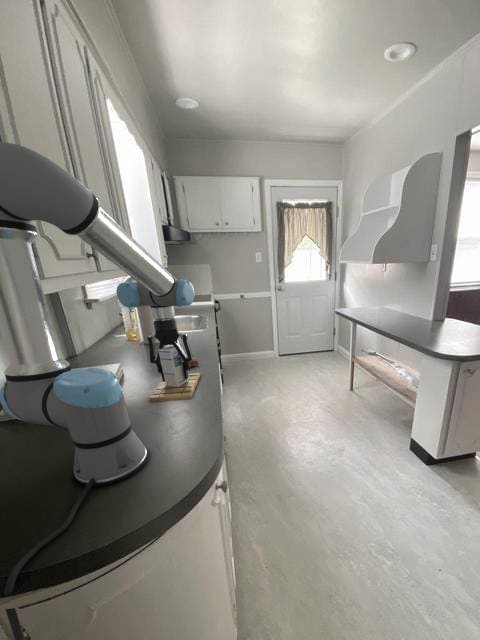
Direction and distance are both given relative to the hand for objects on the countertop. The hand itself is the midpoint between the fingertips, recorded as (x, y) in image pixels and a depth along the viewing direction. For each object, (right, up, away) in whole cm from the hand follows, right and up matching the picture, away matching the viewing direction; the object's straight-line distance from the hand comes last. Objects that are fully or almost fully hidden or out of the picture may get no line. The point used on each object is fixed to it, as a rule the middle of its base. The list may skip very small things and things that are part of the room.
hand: (175, 378), depth 115 cm
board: (0, -3, +1) cm, 4 cm away
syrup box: (0, -2, +1) cm, 2 cm away
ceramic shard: (-9, +5, +24) cm, 26 cm away
